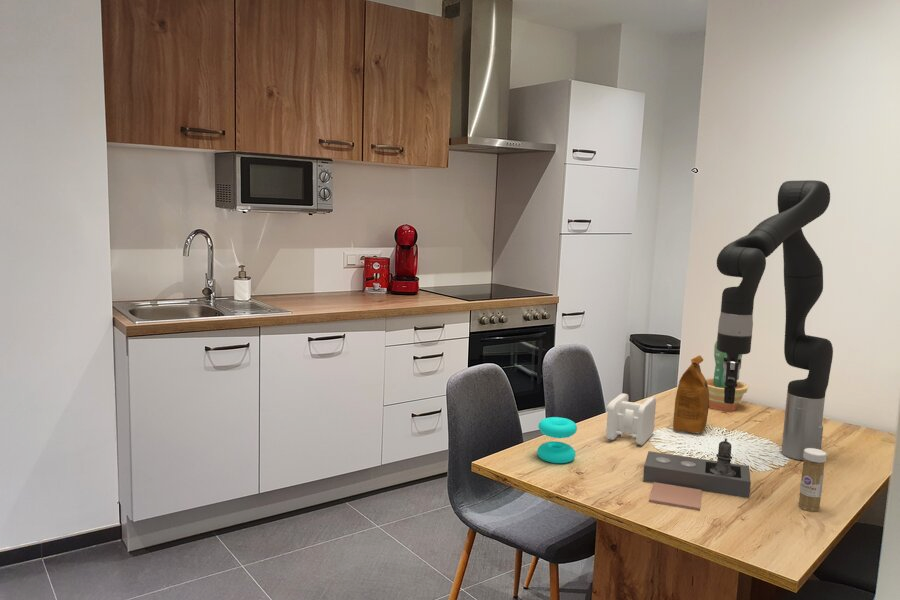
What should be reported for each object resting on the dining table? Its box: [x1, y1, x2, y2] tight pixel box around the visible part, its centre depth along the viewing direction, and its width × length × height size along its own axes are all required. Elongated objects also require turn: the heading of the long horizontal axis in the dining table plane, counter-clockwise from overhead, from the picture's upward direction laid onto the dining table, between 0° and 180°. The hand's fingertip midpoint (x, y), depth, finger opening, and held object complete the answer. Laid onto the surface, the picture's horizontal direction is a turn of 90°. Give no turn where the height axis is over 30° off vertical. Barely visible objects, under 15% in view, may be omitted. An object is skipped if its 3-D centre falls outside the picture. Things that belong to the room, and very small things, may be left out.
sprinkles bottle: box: [797, 448, 827, 512], centre depth 161 cm, size 5×5×14 cm
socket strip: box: [642, 450, 752, 499], centre depth 175 cm, size 24×11×4 cm, turn 69°
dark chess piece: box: [710, 437, 736, 477], centre depth 172 cm, size 6×6×12 cm
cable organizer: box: [605, 392, 657, 446], centre depth 205 cm, size 15×11×12 cm
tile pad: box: [648, 482, 702, 512], centre depth 165 cm, size 11×11×1 cm
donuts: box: [536, 416, 578, 464], centre depth 188 cm, size 10×10×10 cm
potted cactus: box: [705, 340, 749, 412], centre depth 239 cm, size 15×15×25 cm
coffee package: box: [672, 355, 710, 434], centre depth 215 cm, size 10×12×22 cm
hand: (728, 398), depth 170 cm, fingers open, 8 cm apart
